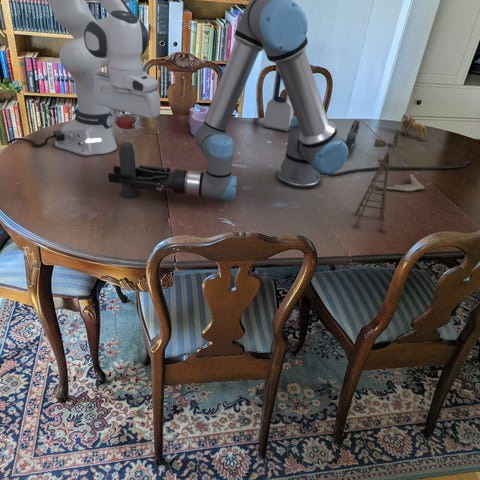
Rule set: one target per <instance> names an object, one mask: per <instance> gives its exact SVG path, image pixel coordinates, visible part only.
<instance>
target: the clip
mask: <svg viewBox="0 0 480 480" xmlns="http://www.w3.org/2000/svg"><path fill="white" fill-rule="evenodd" d="M208 110H209V108H206V107H203V106H200V107H199V111H196V108H195V107H190V108H189V118H188V119H189V120H188V121H189V122H188V125H189V127H190V134H191V135H193V136H194V137H195V131H196V129H197V128H198V126H200V125H201V124H203V122H204V120H205V117H206V115H207V112H208Z"/></svg>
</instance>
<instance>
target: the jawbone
mask: <svg viewBox="0 0 480 480" xmlns="http://www.w3.org/2000/svg"><path fill="white" fill-rule="evenodd" d="M409 179H410V184H409V183H408V184H393V186H387V189H386V190H391V191H400V192H409V193H410V192H415V191H419V190H425V189H426V187H425V185H424V184H422V183H421V182H419V181H418V179H417V177H415V176H414V174H413V173H410V174H409ZM377 186H380V187H384V185H380V184H378V185H377ZM378 189H380V190H383V188H378Z"/></svg>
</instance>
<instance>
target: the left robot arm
mask: <svg viewBox="0 0 480 480" xmlns="http://www.w3.org/2000/svg"><path fill="white" fill-rule="evenodd" d="M94 1H95V2H97V3H99V5H101V6H102V7H103V8H104V10H105V12H106V13H107V14H108V15H107V16H106V17H104V18H101V19H96V18H95V16H94V15H93V13H92V11H91V9H90V8H89V4H88V3H87V1H86V0H47V3H48V5H49V7H50V9H51V11H52V13H53V16H54V17H55V20H56V22H57V24H59V26H61V27H63V28H64V29H65V30H67V31H68V33H70V35H71V36H72V38H73V39H71V40H68V42H66V43H65V44H64V45H63V46H61V48H60V50H59V61H60V64H61V66H62V67H63V69H64V70H65V71H66V72H68V73H69V74H70V77H71V79H72V81H73V83H74V87H75V92H76V101H77V108H76V109H75V110H74V111H71V115H72V116H74V115H75V116H74V118H73V119H72V120H71V121H69V122H68V123H67V124H65V125H64V126H63V127H62V128H61V130H60V129H59V130H57V129H56V130H52V135H50V136H47V137H46V138H44V141H43V142H42V143H39V144H36V143H35V141H34V140H32V139H29V138H22V137H14V138H12V139H9V141H7V144H11V143H12V142H15V141H23V142H28V143H31V145H32V146H33V147H42V146H44V145H46V144H47V143H48V140H50V139H55V142H54V146H55V147H57V148H59V149H62V150H65V151H69V152H72V153H74V154H78V155H80V156H84V157H85V156H86V157H87V156H92V155H105V154H108V153H111V152H114V151H115V150H116V149H117V148H118V145H117V142H116V140H115V135H114V131H113V124H114V125H117V118H118V117H120V116H119V113H118V111H120V112H123V113H126V114H127V113H128V114H131V115H134V118H135V120H136V121H135V122H133V123H132V129H134V130H139V129H140V128H141V122H142V121H143V119H144V118H147V119H151V120H153V119H155V118H158V117H159V116H160V114H161V97H160V96H161V95H160V92H159V90H157V89H158V88H159V80H157V79H156V78H155V77H153V76H151V74H148V73H147V72H146V71H144V70H143V63H142V56H143V55H144V53H145V52H146V51H147V49H148V47H149V43H150V34H149V31H148V28H147V26H146V25H145V23H143V21H142V20H141V19H140V18H139V17H138V16H137V15H135V13H134V12H133V11H132V10H131V8H130V7H129V6H128V4H127V3H126V1H125V0H94ZM107 66H108V72H104V71H101V70H102V69H103V68H105V67H107Z"/></svg>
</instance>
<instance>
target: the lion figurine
mask: <svg viewBox="0 0 480 480" xmlns="http://www.w3.org/2000/svg"><path fill="white" fill-rule="evenodd" d="M400 121H401V124H402V125H403V127H404V128H406V132H404V135H405V136H407V135H409V134H410V132H411V131H415V132H416V131H417V132H418V134H419V135H417V138H419V141H423V140H424V139H425V140H427V141H428V140H429V138H428V137H426V134H427V133H426V132H427V131H426V125H425V124H423V123H419V122H416V121H415V118H414V117H412V116H411V115H410V114H407V113H405V114H403V115H402V118H401V119H400ZM407 133H408V134H407ZM420 136H421V137H420ZM421 138H422V139H421Z"/></svg>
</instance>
